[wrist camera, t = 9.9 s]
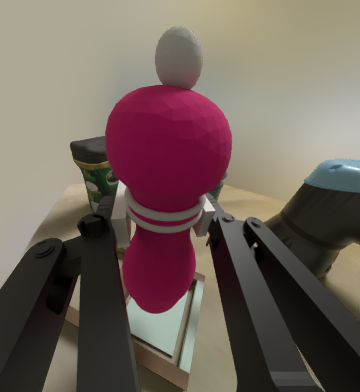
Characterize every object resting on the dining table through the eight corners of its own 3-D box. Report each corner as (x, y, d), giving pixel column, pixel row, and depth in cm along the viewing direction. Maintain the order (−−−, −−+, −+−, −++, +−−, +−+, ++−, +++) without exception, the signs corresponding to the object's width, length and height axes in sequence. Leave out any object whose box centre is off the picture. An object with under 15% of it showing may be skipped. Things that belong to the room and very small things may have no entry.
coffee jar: (113, 193, 43) (101, 131, 32) (133, 201, 41) (126, 138, 30) (85, 210, 36) (57, 137, 25) (108, 220, 34) (87, 147, 23)
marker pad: (147, 268, 26) (147, 267, 25) (189, 286, 24) (189, 285, 24) (116, 325, 19) (116, 325, 19) (172, 356, 17) (172, 356, 17)
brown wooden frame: (92, 234, 30) (90, 228, 29) (202, 280, 25) (205, 275, 24) (24, 295, 20) (16, 290, 19) (183, 390, 15) (186, 391, 14)
